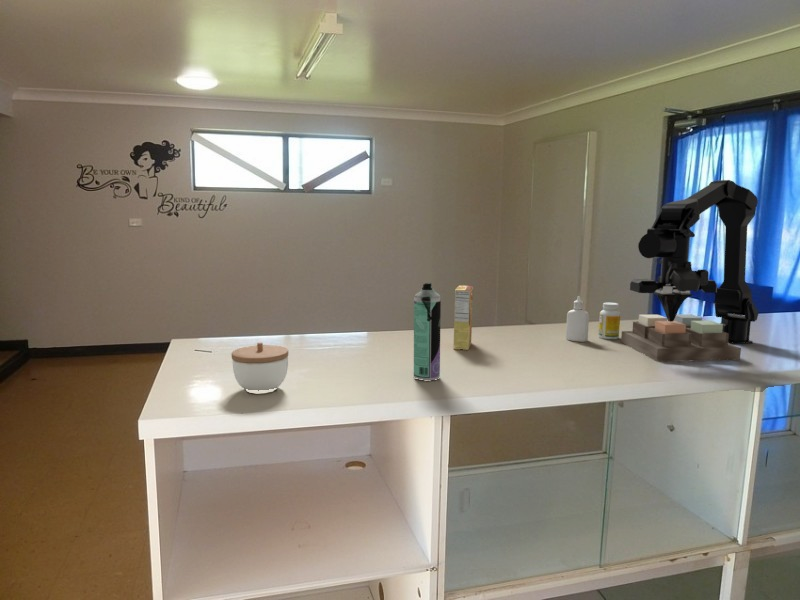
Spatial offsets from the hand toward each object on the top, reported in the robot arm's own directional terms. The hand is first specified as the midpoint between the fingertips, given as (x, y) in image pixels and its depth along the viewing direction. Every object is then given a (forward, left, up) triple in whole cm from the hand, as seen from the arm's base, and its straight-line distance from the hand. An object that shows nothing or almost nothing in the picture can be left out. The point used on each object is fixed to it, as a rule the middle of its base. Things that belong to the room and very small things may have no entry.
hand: (670, 321), depth 142 cm
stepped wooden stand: (-4, -4, -8) cm, 10 cm away
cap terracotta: (0, 0, -3) cm, 3 cm away
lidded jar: (+94, +25, -9) cm, 97 cm away
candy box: (+49, -11, -9) cm, 51 cm away
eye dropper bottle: (+17, -17, -9) cm, 26 cm away
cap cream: (0, -9, -3) cm, 10 cm away
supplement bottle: (+7, -20, -9) cm, 23 cm away
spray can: (+61, +18, -9) cm, 64 cm away
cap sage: (-9, 0, -3) cm, 10 cm away
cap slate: (-9, -9, -3) cm, 13 cm away
